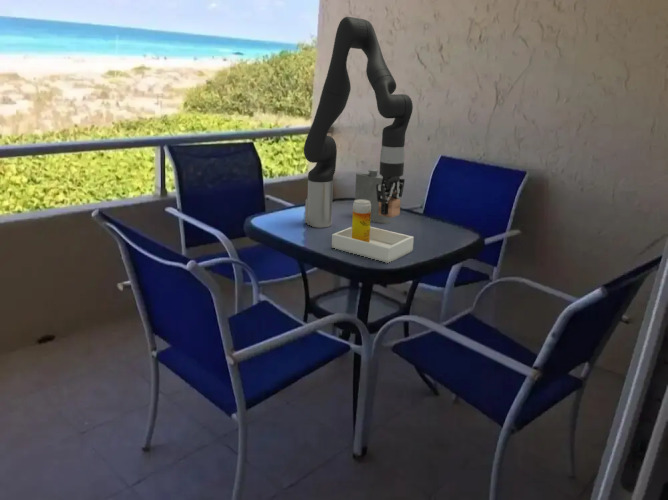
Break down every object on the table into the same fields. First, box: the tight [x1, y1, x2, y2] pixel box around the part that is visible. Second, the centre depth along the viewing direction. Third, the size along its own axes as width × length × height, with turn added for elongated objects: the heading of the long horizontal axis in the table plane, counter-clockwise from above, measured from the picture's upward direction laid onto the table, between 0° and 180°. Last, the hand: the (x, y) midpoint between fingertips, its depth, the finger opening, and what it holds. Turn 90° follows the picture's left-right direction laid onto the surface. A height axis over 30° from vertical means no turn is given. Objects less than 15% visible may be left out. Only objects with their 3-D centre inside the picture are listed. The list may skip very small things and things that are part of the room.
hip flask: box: [354, 168, 391, 225], centre depth 225 cm, size 16×4×20 cm, turn 54°
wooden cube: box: [378, 197, 401, 219], centre depth 186 cm, size 5×5×5 cm
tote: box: [331, 226, 415, 264], centre depth 194 cm, size 22×16×5 cm
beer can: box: [351, 199, 371, 242], centre depth 194 cm, size 6×6×15 cm
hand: (388, 212), depth 187 cm, fingers closed on wooden cube, 5 cm apart
